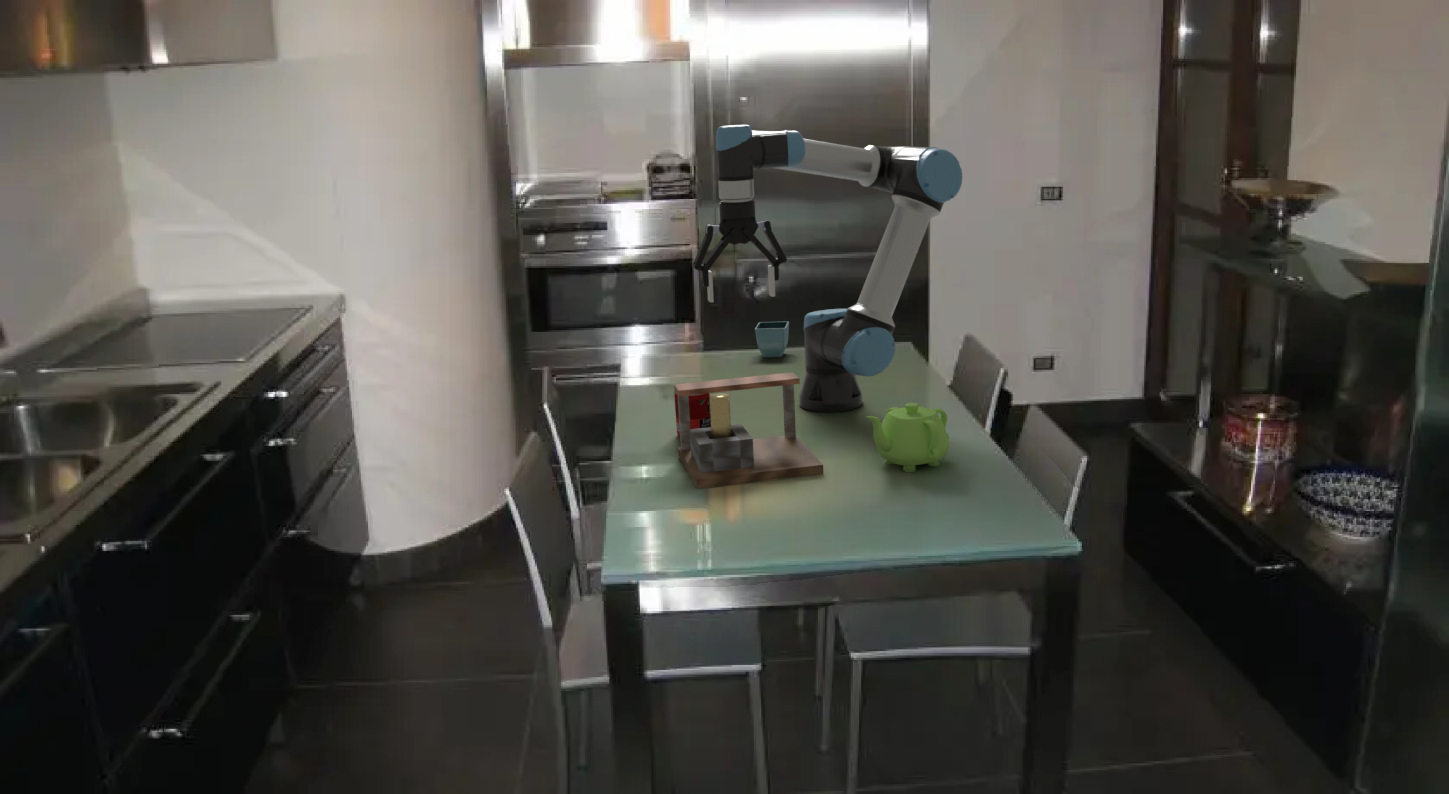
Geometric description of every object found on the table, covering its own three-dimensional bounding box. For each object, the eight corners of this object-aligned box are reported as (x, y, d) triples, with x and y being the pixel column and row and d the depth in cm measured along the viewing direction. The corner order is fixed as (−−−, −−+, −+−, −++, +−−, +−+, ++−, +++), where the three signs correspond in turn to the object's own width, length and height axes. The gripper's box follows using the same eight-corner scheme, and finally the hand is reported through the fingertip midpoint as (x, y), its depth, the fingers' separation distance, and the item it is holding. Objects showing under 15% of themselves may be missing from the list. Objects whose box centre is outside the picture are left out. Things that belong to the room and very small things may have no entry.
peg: (730, 457, 256) (727, 392, 252) (734, 463, 252) (731, 397, 248) (711, 459, 255) (707, 394, 251) (715, 465, 251) (711, 399, 247)
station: (795, 442, 270) (792, 372, 265) (823, 474, 249) (821, 397, 245) (678, 456, 265) (674, 384, 261) (697, 488, 244) (692, 411, 240)
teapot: (936, 480, 242) (936, 419, 239) (866, 474, 248) (865, 413, 244) (955, 455, 256) (955, 396, 253) (889, 449, 262) (888, 392, 258)
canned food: (708, 440, 275) (705, 393, 272) (673, 440, 276) (670, 392, 274) (715, 430, 282) (712, 383, 279) (681, 429, 284) (678, 383, 281)
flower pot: (755, 359, 346) (754, 328, 343) (760, 352, 354) (758, 321, 352) (786, 359, 344) (785, 328, 342) (790, 351, 352) (789, 321, 350)
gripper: (789, 193, 266) (793, 290, 272) (675, 202, 262) (681, 300, 267) (798, 197, 259) (801, 296, 265) (681, 205, 255) (687, 306, 260)
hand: (741, 298), depth 266 cm, fingers open, 13 cm apart
